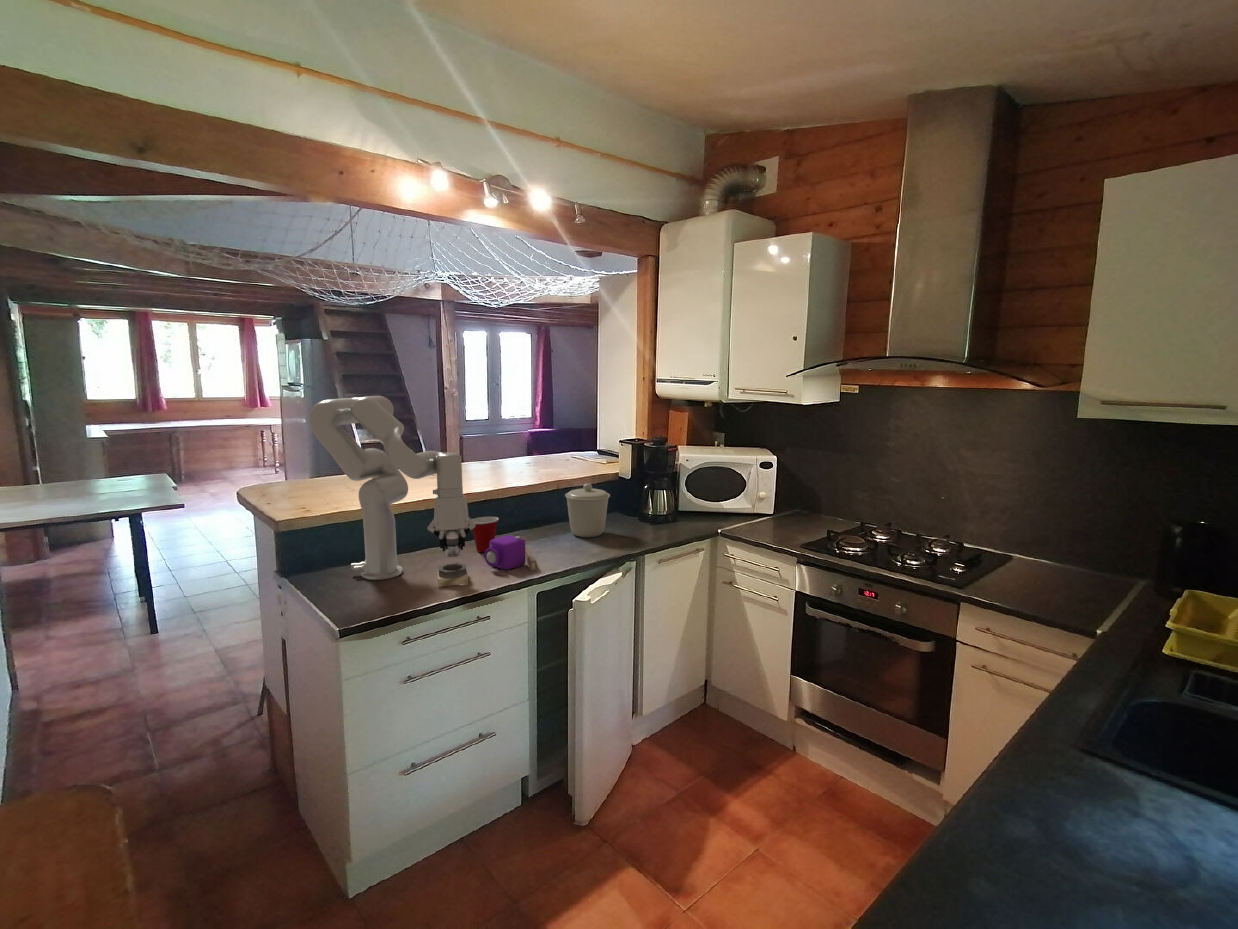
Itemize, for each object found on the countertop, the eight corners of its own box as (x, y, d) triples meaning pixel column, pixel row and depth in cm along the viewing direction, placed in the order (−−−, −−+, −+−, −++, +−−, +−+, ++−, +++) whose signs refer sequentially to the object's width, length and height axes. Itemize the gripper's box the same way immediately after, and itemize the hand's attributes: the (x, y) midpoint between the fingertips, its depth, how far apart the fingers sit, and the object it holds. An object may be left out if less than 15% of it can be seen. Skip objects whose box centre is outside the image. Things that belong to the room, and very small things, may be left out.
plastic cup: (484, 544, 232) (483, 513, 230) (505, 549, 226) (505, 517, 224) (463, 551, 223) (462, 519, 221) (484, 556, 217) (483, 524, 215)
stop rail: (530, 570, 203) (530, 560, 203) (525, 557, 217) (524, 548, 216) (535, 570, 204) (535, 560, 203) (529, 557, 217) (529, 548, 216)
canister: (596, 526, 260) (596, 478, 257) (617, 536, 245) (618, 485, 241) (557, 531, 251) (557, 481, 247) (577, 542, 236) (577, 489, 232)
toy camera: (479, 570, 203) (478, 541, 201) (503, 558, 215) (502, 531, 214) (505, 575, 199) (505, 545, 197) (529, 563, 211) (528, 535, 209)
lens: (445, 557, 188) (444, 532, 187) (445, 553, 192) (443, 528, 191) (461, 556, 189) (460, 531, 188) (460, 552, 194) (459, 527, 193)
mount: (438, 587, 187) (437, 573, 186) (438, 577, 195) (437, 564, 195) (468, 584, 189) (467, 570, 189) (466, 575, 198) (466, 561, 197)
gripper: (421, 496, 182) (424, 555, 185) (479, 493, 187) (481, 550, 189) (421, 491, 189) (424, 548, 192) (477, 488, 194) (479, 544, 197)
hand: (452, 549), depth 191 cm, fingers closed on lens, 4 cm apart
